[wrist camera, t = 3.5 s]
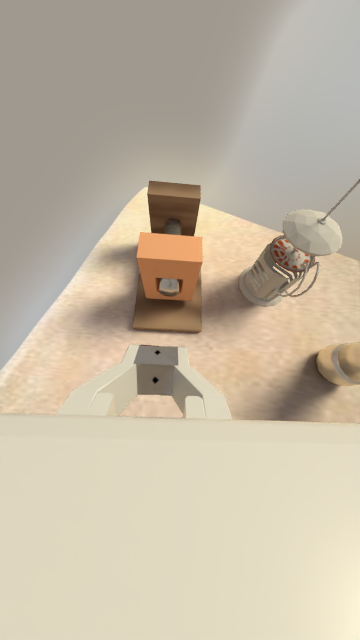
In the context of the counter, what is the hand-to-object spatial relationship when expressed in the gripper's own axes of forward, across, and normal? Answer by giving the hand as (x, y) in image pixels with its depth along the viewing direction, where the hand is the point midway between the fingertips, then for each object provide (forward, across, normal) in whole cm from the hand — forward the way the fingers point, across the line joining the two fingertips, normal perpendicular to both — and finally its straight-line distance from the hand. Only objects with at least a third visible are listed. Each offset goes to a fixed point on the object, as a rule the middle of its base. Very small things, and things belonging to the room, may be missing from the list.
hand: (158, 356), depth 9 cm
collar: (+23, 0, +3) cm, 24 cm away
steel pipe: (+25, 0, -3) cm, 25 cm away
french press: (+28, -19, +2) cm, 34 cm away
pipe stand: (+28, 0, +2) cm, 28 cm away
